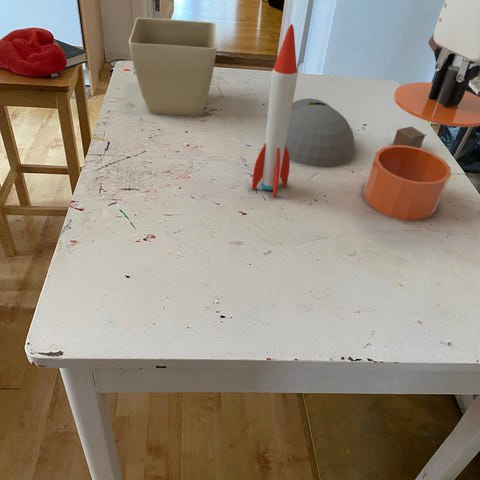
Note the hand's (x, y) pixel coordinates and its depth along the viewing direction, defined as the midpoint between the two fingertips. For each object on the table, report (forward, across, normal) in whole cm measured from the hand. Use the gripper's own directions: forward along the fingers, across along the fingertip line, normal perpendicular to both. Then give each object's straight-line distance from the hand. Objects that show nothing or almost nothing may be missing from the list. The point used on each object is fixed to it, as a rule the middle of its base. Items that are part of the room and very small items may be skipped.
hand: (443, 100), depth 76 cm
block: (+23, +22, -22) cm, 38 cm away
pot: (+23, +5, -5) cm, 24 cm away
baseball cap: (+23, +33, -3) cm, 41 cm away
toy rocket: (+23, +19, +18) cm, 35 cm away
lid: (+1, 0, 0) cm, 1 cm away
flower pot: (+23, +62, +20) cm, 69 cm away
